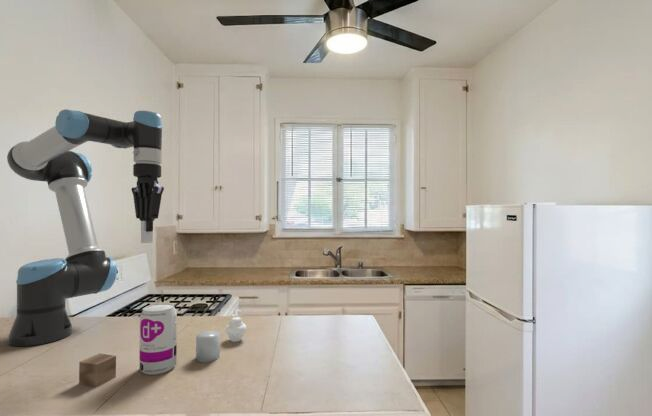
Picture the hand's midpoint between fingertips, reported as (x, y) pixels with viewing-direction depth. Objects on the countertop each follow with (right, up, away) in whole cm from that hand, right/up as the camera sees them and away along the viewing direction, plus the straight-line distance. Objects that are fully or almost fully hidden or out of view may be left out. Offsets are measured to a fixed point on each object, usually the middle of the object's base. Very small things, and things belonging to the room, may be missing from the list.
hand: (146, 242), depth 105 cm
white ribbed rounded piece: (+27, -30, +1) cm, 40 cm away
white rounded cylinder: (+22, -29, -12) cm, 39 cm away
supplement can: (+12, -29, -19) cm, 37 cm away
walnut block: (+1, -29, -25) cm, 38 cm away
